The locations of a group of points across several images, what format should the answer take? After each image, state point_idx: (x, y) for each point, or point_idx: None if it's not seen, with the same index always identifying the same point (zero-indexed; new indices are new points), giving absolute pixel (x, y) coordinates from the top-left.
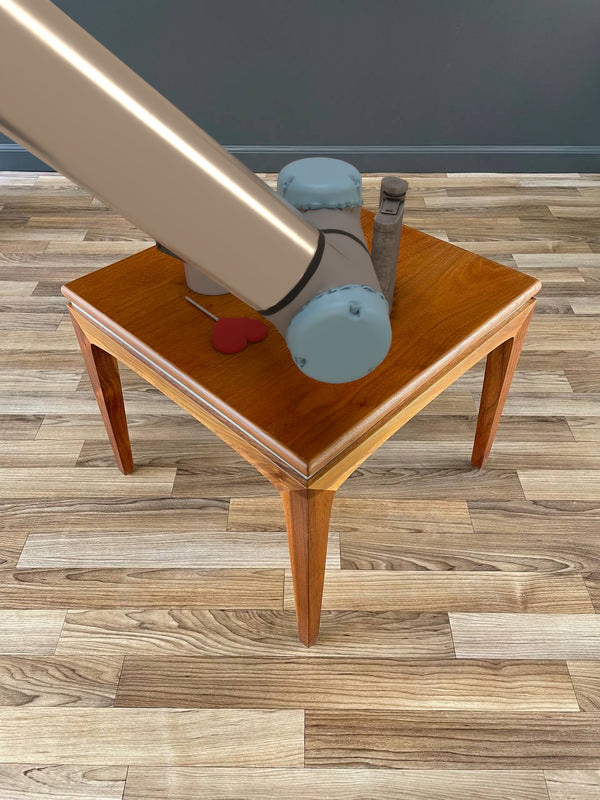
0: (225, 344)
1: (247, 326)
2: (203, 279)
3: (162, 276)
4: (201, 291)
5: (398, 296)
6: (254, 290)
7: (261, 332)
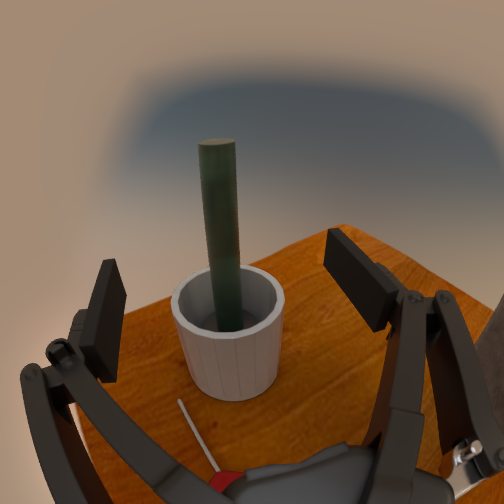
0: None
1: None
2: (206, 382)
3: (163, 342)
4: (205, 391)
5: None
6: None
7: None
